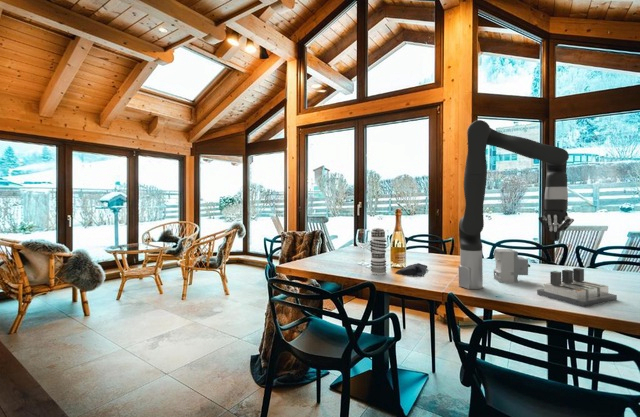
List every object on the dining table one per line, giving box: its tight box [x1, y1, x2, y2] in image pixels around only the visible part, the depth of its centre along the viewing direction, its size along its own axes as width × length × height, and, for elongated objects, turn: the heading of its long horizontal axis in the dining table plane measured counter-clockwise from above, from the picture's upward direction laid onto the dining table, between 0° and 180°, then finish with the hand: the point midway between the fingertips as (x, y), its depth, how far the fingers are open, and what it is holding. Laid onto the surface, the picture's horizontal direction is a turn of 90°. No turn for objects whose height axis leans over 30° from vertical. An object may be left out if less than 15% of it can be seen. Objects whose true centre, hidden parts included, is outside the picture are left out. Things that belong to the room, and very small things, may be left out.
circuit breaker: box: [493, 248, 531, 284], centre depth 153 cm, size 8×14×15 cm, turn 78°
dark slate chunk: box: [395, 263, 428, 277], centre depth 177 cm, size 15×22×5 cm
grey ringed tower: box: [369, 227, 387, 276], centre depth 175 cm, size 9×9×25 cm
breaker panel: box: [536, 267, 618, 308], centre depth 126 cm, size 20×17×10 cm
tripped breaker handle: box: [549, 270, 562, 285], centre depth 126 cm, size 3×2×5 cm
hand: (554, 240), depth 127 cm, fingers closed
